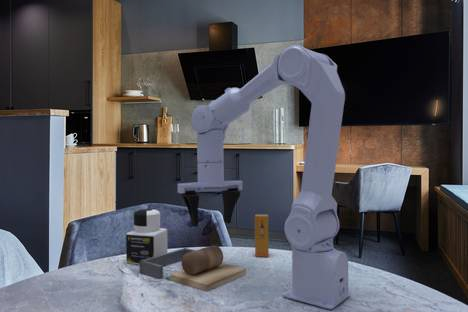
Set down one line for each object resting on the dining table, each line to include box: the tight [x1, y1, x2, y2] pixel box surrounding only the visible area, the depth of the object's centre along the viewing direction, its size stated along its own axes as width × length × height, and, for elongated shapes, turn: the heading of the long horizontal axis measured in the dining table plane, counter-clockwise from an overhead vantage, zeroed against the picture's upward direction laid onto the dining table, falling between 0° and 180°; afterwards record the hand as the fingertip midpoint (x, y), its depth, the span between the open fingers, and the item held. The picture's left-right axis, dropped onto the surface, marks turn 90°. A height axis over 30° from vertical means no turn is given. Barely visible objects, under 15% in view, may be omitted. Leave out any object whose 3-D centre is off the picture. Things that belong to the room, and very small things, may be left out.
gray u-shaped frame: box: [138, 247, 197, 280], centre depth 88 cm, size 7×14×2 cm, turn 141°
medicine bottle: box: [125, 208, 168, 265], centre depth 93 cm, size 7×7×12 cm
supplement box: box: [254, 213, 270, 258], centre depth 97 cm, size 3×3×10 cm
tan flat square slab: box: [165, 262, 247, 292], centre depth 82 cm, size 11×12×1 cm
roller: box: [181, 244, 224, 275], centre depth 82 cm, size 4×8×4 cm, turn 142°
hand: (211, 224), depth 87 cm, fingers open, 7 cm apart
